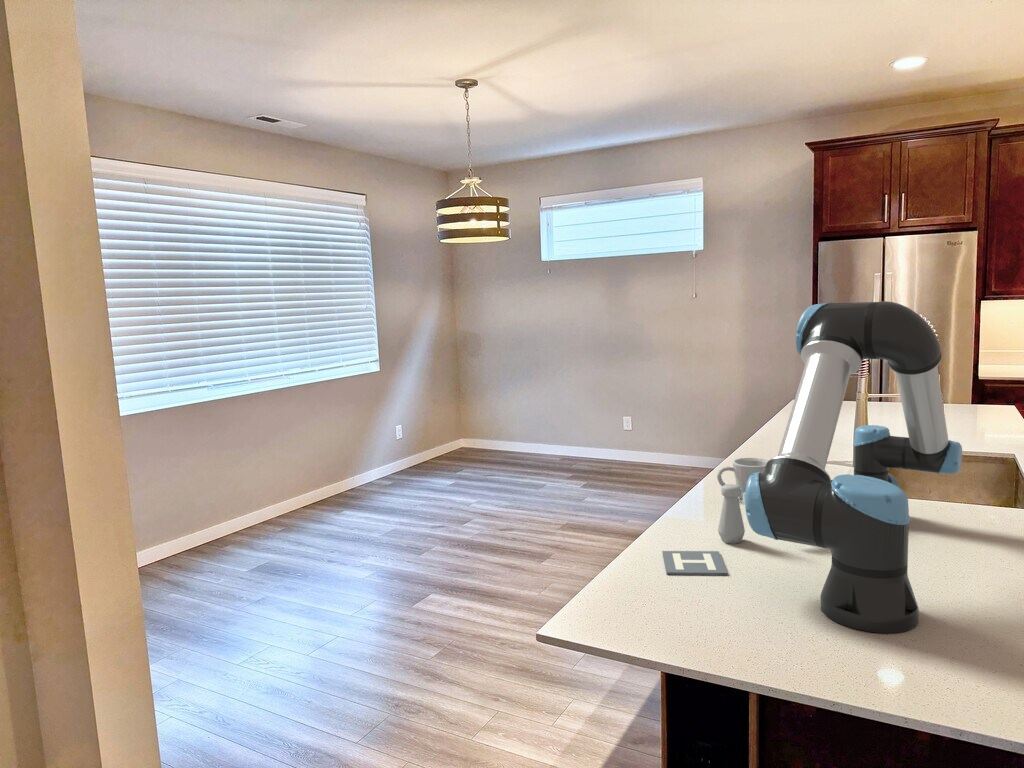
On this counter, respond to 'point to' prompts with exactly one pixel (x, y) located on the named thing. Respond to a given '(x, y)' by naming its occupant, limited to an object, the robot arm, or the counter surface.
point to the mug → (743, 471)
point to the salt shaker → (731, 515)
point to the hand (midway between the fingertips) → (761, 506)
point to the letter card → (694, 563)
